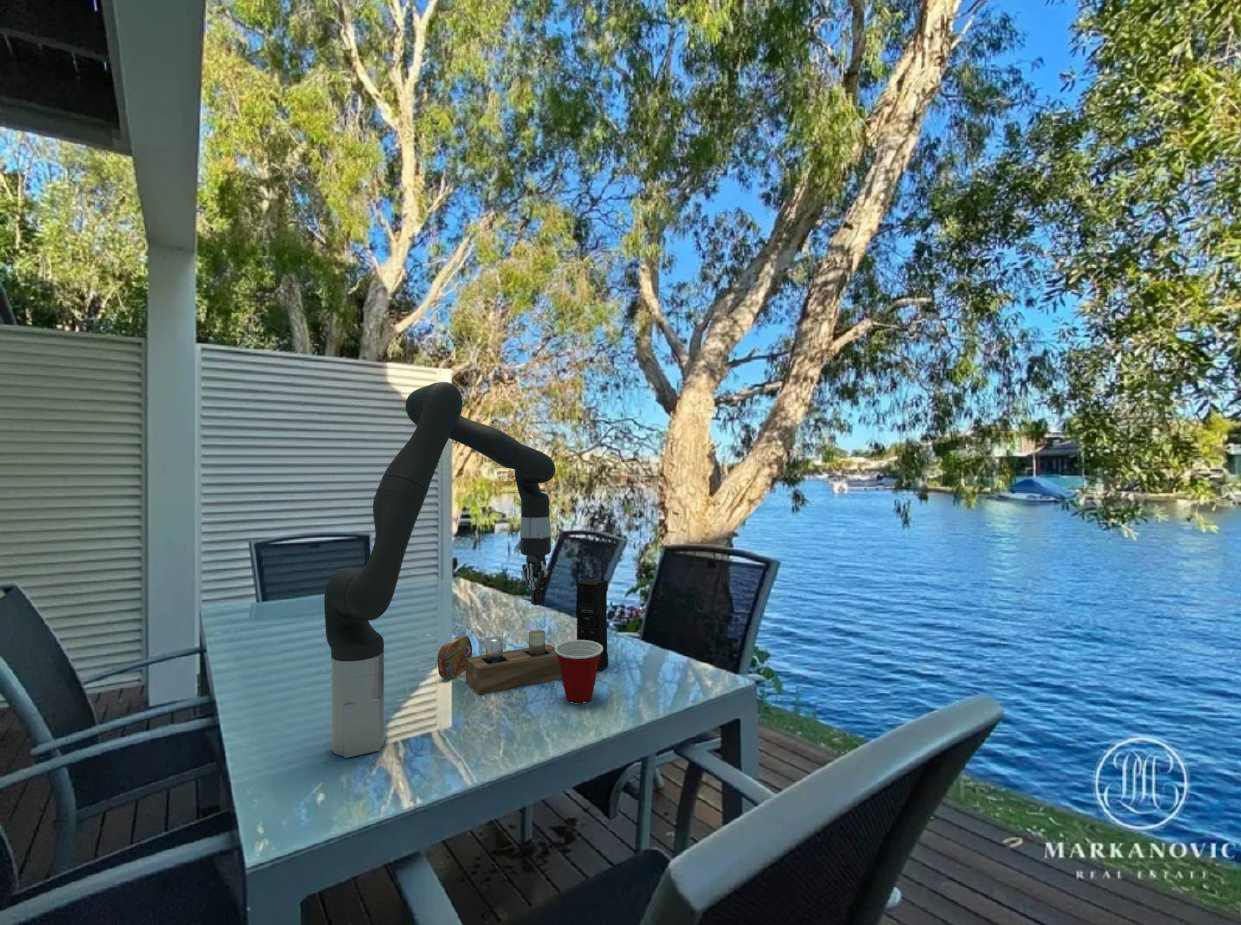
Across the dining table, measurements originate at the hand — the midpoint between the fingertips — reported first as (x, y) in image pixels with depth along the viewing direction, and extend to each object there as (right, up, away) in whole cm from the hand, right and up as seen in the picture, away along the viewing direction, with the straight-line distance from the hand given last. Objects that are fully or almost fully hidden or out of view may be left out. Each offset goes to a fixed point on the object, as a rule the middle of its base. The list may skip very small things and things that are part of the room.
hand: (536, 604), depth 160 cm
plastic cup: (+12, -18, -16) cm, 27 cm away
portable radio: (+13, -18, +6) cm, 23 cm away
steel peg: (-9, -13, -6) cm, 17 cm away
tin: (-21, -18, +4) cm, 28 cm away
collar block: (-5, -18, -3) cm, 19 cm away
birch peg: (0, -13, 0) cm, 13 cm away
